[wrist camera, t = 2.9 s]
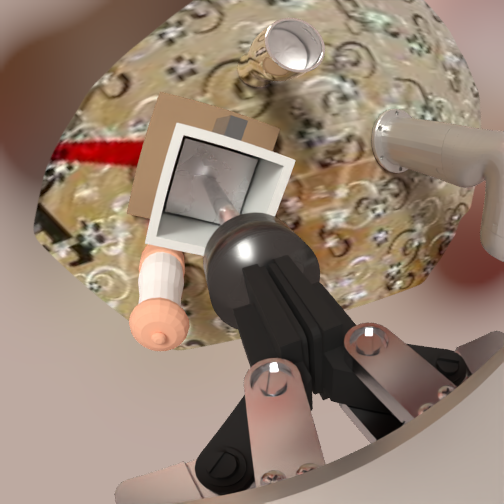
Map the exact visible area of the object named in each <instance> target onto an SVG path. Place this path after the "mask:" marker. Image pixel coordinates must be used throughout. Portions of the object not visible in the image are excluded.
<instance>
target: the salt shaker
mask: <svg viewBox="0 0 504 504" xmlns="http://www.w3.org/2000/svg"><path fill="white" fill-rule="evenodd" d="M139 273H140V274H139V279H138V284H139V294H140V297H139V304H138V305H137V306H136V307H135V308H134V310H133V311H132V313H131V315H130V319H129V325H130V328H131V333H132V334H133V336H134V338H135V339H136V340H137V341H138V342H139V343H140V344H141V345H143V346H144V347H146V348H148V349H150V350H155V351H167V350H171V349H174V348H175V347H177V346H178V345H180V344H181V343H182V342H183V341H184V339H185V338H186V336H187V333H188V330H189V319H188V317H187V315H186V313H185V311H184V310H183V309H182V308H181V296H182V291H183V287H184V274H185V263H184V255H183V253H182V251H178V250H173V249H168V248H164V247H159V246H154V245H148V246H146V247H145V249H144V251H143V252H142V256H141V260H140V265H139Z"/></svg>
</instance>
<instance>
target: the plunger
mask: <svg viewBox="0 0 504 504" xmlns="http://www.w3.org/2000/svg"><path fill="white" fill-rule="evenodd" d="M257 161H258V160H257V159H254V158H251V157H248V156H245V155H242V154H239V153H235V152H232V151H229V150H225V149H222V148H219V147H215V146H212V145H208V144H205V143H201V142H197V141H194V140H190V139H186V138H185V141H184V144H183V148H182V151H181V154H180V157H179V161H178V164H177V168H176V171H175V175H174V178H173V182H172V185H171V189H170V193H169V197H168V200H167V204H166V208H165V211H166V212H171V213H175V214H179V215H184V216H188V217H192V218H197V219H201V220H205V221H209V222H214V223H218V224H220V225H221V226H219V227H218V228H217V229H216V231H215V232H214V233H213V234H212V236H211V237H210V239H209V241H208V242H207V245H206V248H205V251H204V257H203V265H204V271H205V276H206V280H207V285H208V290H209V295H210V299H211V303H212V306H213V308H214V310H215V312H216V314H217V315H218V316H219V317H220V318H221V320H223V321H224V322H225V323H226V324H228V325H230V326H231V327H234V328H236V329H238V327H237V324H236V320H235V317H234V314H233V310H232V309H234V308H238V307H241V306H245V305H248V304H250V301H249V297H248V293H247V288H246V284H245V280H244V276H243V271H242V268H244V267H247V266H251V265H254V264H258V266H259V267H262V266H264V267H265V268H266V270H267V271H268V273H269V270H268V265H269V264H272V260H273V259H275V258H278V257H282V256H285V255H288V256H289V257H290V258H291V259H292V261H293V262H294V263H295V264H296V266H297V267H298V268H299V269H300V270H301V272H302V273H303V274H304V275H305V277H306V278H307V279H308V280H309V282H310V283H311V284H314V283H317V282H319V280H320V268H319V263H318V260H317V258H316V256H315V254H314V252H313V251H312V250H311V248H310V247H309V246H308V245H307V244H306V243H305V242H304V241H303V240H302V239H301V238H299V237H298V236H297V235H296V234H295V233H294V232H293V231H292V230H291V229H290V228H289V227H288V226H287V225H286V224H285V223H284V222H283V221H281V220H280V219H278V218H277V217H275V216H272V215H269V214H265V213H258V212H253V213H245V214H241V215H240V214H239V213H240V210H241V207H242V204H243V201H244V198H245V195H246V192H247V190H248V187H249V184H250V181H251V178H252V175H253V172H254V169H255V167H256V164H257Z"/></svg>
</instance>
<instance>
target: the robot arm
mask: <svg viewBox="0 0 504 504" xmlns="http://www.w3.org/2000/svg"><path fill="white" fill-rule="evenodd" d="M372 148H373V153H374V155H375V158H376V159H377V161H378V163H379V164H380V165H381V166H382V167H383V168H384V169H386V170H388V171H390V172H393V173H401V172H404V171H406V170H408V169H410V170H413V171H416V172H419V173H422V174H425V175H428V176H431V177H434V178H437V179H440V180H443V181H445V182H448V183H451V184H454V185H456V186H459V187H464V188H467V187H473V186H476V185H477V184H480V183H481V182H483V181H484V180H486V190H485V191H486V194H485V201H484V209H483V215H482V223H481V230H480V239H481V243H482V246H483V247H484V249H485V250H486V251H487V252H488V253H489V254H490V255H492V256H494V257H495V258H497V259H499V260H501V261H503V262H504V131H494V130H485V129H479V128H473V127H467V126H462V125H456V124H450V123H444V122H437V121H430V120H422V119H414V118H412V117H411V116H410V115H409V114H408V113H406V112H405V111H403V110H400V109H389V110H386V111H385V112H383V113H382V114H381V115H380V116H379V117H378V118H377V120H376V122H375V124H374V127H373V131H372ZM268 270H269V273H268V271H267V270H266V268H265V267H264V266H262V267H259V266H258V264H254V265H251V266H247V267H244V268H242V271H243V276H244V280H245V284H246V288H247V293H248V297H249V301H250V304H248V305H245V306H241V307H238V308H234V309H232V310H233V314H234V317H235V320H236V324H237V327H238V330H239V334H240V337H241V340H242V343H243V346H244V349H245V352H246V355H247V358H248V361H249V364H250V367H251V368H250V369H249V370H248V371H247V373H246V375H245V378H244V391H245V395H244V397H243V398H242V399H241V401H240V402H239V404H238V405H237V406H236V408H235V409H234V410H233V412H232V413H231V414H230V416H229V417H228V418H227V420H226V421H225V423H224V424H223V425H222V426H221V428H220V429H219V430H218V432H217V433H216V434H215V436H214V437H213V438H212V440H211V441H210V442H209V443H208V445H207V446H206V447H205V448H204V450H203V451H202V452H201V454H200V455H199V457H198V458H197V459H196V460H193V461H191V462H188V463H185V462H181V463H178V464H175V465H173V466H170V467H167V468H164V469H161V470H158V471H155V472H151V473H148V474H145V475H142V476H138V477H135V478H131V479H128V480H126V481H123V482H121V483H120V485H119V486H118V487H117V488H116V491H115V502H116V504H504V333H503V332H500V331H494V332H490V333H488V334H486V335H484V336H482V337H480V338H478V339H475V340H473V341H471V342H469V343H466V344H464V345H461V346H459V347H457V348H456V350H455V351H451V350H447V349H439V348H432V347H424V346H417V345H411V344H406V343H404V342H403V341H402V340H401V339H399V338H398V337H397V336H396V335H395V334H393V333H392V332H391V331H390V330H388V329H387V328H386V327H384V326H382V325H379V324H376V323H362V324H359V325H356V324H355V323H354V322H353V321H352V320H351V318H350V317H349V316H348V315H347V314H346V313H345V311H344V310H343V309H342V308H341V306H340V305H339V304H338V303H337V302H336V300H335V299H334V298H333V297H332V296H331V295H330V293H329V292H328V291H327V290H326V289H325V287H324V286H323V285H322V284H321V283H319V282H317V283H314V284H311V283H310V282H309V280H308V279H307V278H306V277H305V275H304V274H303V273H302V272H301V270H300V269H299V268H298V267H297V266H296V264H295V263H294V262H293V261H292V259H291V258H290V257H289V256H288V255H285V256H282V257H278V258H275V259H273V260H272V264H269V265H268ZM312 392H313V393H314V394H317V393H319V394H320V395H321V397H322V399H323V400H325V399H327V398H330V400H331V401H333V402H337V403H339V405H340V406H341V408H342V410H343V411H344V412H345V413H346V414H347V416H348V417H349V418H350V419H351V421H352V422H353V423H354V424H355V425H356V427H357V428H358V429H359V430H360V431H361V432H362V434H363V435H364V436H365V437H366V438H367V439H368V441H369V442H370V443H371V444H370V445H368V446H366V447H364V448H362V449H360V450H358V451H356V452H354V453H351V454H349V455H347V456H345V457H343V458H340V459H338V460H336V461H334V462H331V463H329V464H325V460H324V457H323V453H322V450H321V446H320V442H319V439H318V435H317V431H316V428H315V424H314V421H313V417H312V414H311V410H312V409H313V408H312Z"/></svg>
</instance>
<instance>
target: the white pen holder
mask: <svg viewBox="0 0 504 504" xmlns="http://www.w3.org/2000/svg"><path fill="white" fill-rule="evenodd" d="M279 132H280V129H279V128H277V127H274V126H272V125H269V124H266V123H264V122H261V121H258V120H255V119H252V118H250V117H247V116H244V115H241V114H238V113H235V112H232V111H229V110H225V109H222V108H219V107H216V106H212V105H209V104H205V103H202V102H198V101H195V100H191V99H187V98H183V97H180V96H175V95H171V94H167V93H163V92H160V94H159V96H158V99H157V102H156V105H155V108H154V111H153V114H152V117H151V120H150V123H149V127H148V130H147V133H146V137H145V140H144V144H143V147H142V151H141V154H140V158H139V162H138V166H137V170H136V174H135V178H134V182H133V187H132V191H131V196H130V201H129V205H128V210H127V214H130V215H135V216H139V217H144V218H148V219H150V222H149V227H148V232H147V236H146V241H145V244H149V245H154V246H159V247H164V248H168V249H173V250H178V251H183V252H187V253H192V254H197V255H202V256H204V251H205V248H206V245H207V242H208V241H209V239H210V237H211V236H212V234H213V233H214V232H215V231H216V229H217V228H218V227H219V226H221V225H220V224H218V223H214V222H209V221H205V220H201V219H197V218H192V217H188V216H184V215H179V214H175V213H171V212H166V211H165V208H166V204H167V200H168V197H169V193H170V189H171V185H172V182H173V178H174V175H175V171H176V168H177V164H178V161H179V157H180V154H181V151H182V148H183V144H184V141H185V138H186V139H190V140H194V141H197V142H201V143H205V144H208V145H212V146H215V147H219V148H222V149H225V150H229V151H232V152H235V153H239V154H242V155H245V156H248V157H251V158H254V159H257V160H258V161H257V164H256V167H255V169H254V172H253V175H252V178H251V181H250V184H249V187H248V190H247V192H246V195H245V198H244V201H243V204H242V207H241V210H240V213H239V214H240V215H241V214H245V213H253V212H258V213H265V214H269V215H272V216H275V215H276V212H277V209H278V207H279V204H280V201H281V199H282V196H283V193H284V191H285V188H286V185H287V183H288V180H289V177H290V175H291V172H292V169H293V166H294V164H295V161H296V160H294V159H291V158H289V157H286V156H283V155H280V154H278V153H275V152H272V151H273V148H274V145H275V143H276V140H277V137H278V134H279Z"/></svg>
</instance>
